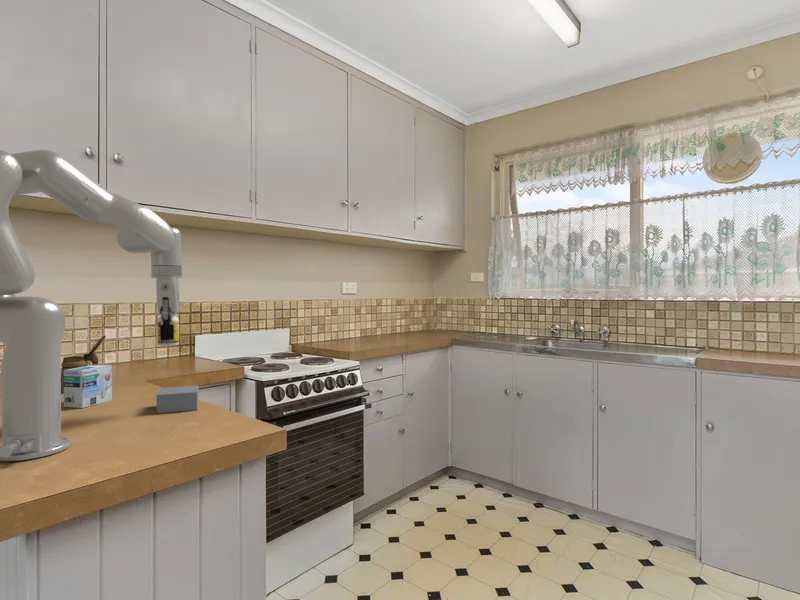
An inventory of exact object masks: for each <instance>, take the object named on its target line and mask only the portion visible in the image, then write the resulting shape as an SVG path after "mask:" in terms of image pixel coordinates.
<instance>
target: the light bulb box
mask: <svg viewBox="0 0 800 600" xmlns="http://www.w3.org/2000/svg"><path fill="white" fill-rule="evenodd" d="M112 367H113V366H112V365H109V364H108V365H105V364H98V365H92V364H91V365H87V366H84V367H78V368H73V369H67V370H64V393H63V407H64V408H74V409H75V408H76V409H84V408H88V407H91V406H96V405H99V404H103V403H107V402H111V401H113V397H112V396H113V387H112V386H113V383H112V382H113V380H112V379H113V371H112V370H113V369H112Z"/></svg>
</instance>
